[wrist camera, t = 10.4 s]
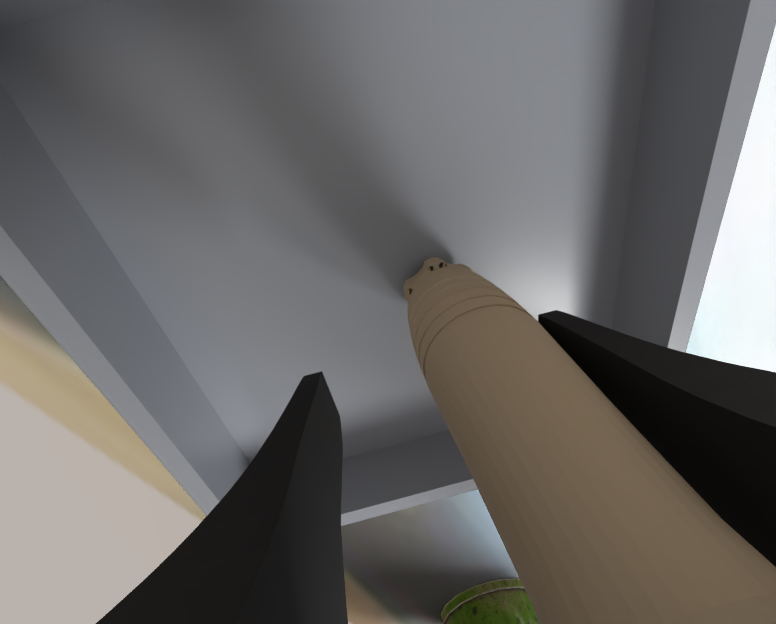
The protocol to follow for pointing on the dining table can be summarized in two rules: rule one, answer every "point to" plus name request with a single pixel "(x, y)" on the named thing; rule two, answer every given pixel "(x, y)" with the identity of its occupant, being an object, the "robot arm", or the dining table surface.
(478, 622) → the lantern
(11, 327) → the dining table surface
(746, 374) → the robot arm
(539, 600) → the handle
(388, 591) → the dining table surface
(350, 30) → the bin
